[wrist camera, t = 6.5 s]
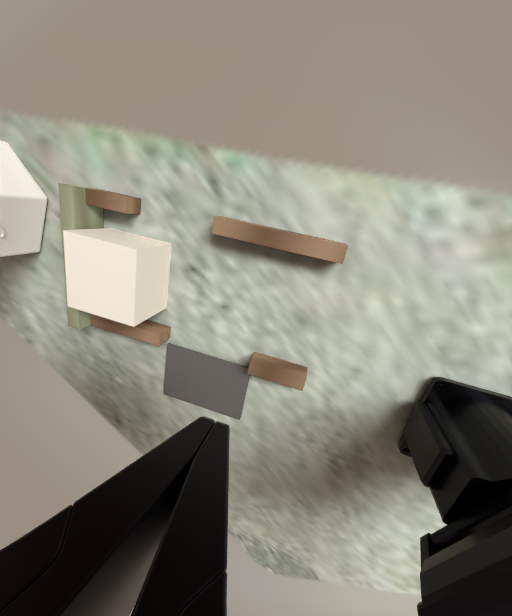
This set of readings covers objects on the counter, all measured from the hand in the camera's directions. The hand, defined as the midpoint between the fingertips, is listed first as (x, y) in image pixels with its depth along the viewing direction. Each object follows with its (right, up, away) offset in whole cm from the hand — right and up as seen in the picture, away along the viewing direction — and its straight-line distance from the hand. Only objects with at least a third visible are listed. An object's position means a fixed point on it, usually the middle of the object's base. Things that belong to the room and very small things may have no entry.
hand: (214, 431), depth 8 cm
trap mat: (-3, -3, +14) cm, 15 cm away
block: (-8, +6, +13) cm, 16 cm away
